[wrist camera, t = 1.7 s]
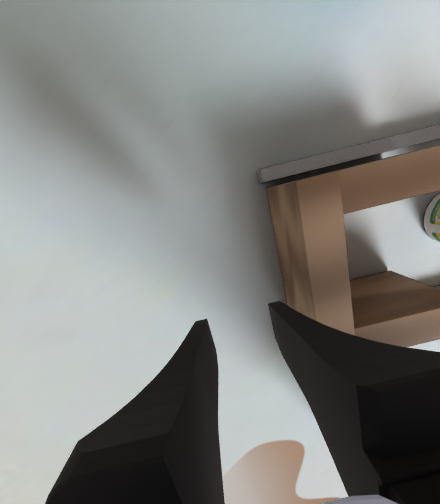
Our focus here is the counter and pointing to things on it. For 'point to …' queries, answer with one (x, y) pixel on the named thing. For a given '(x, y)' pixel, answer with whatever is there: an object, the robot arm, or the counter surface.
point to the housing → (335, 252)
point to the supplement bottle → (433, 219)
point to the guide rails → (350, 155)
